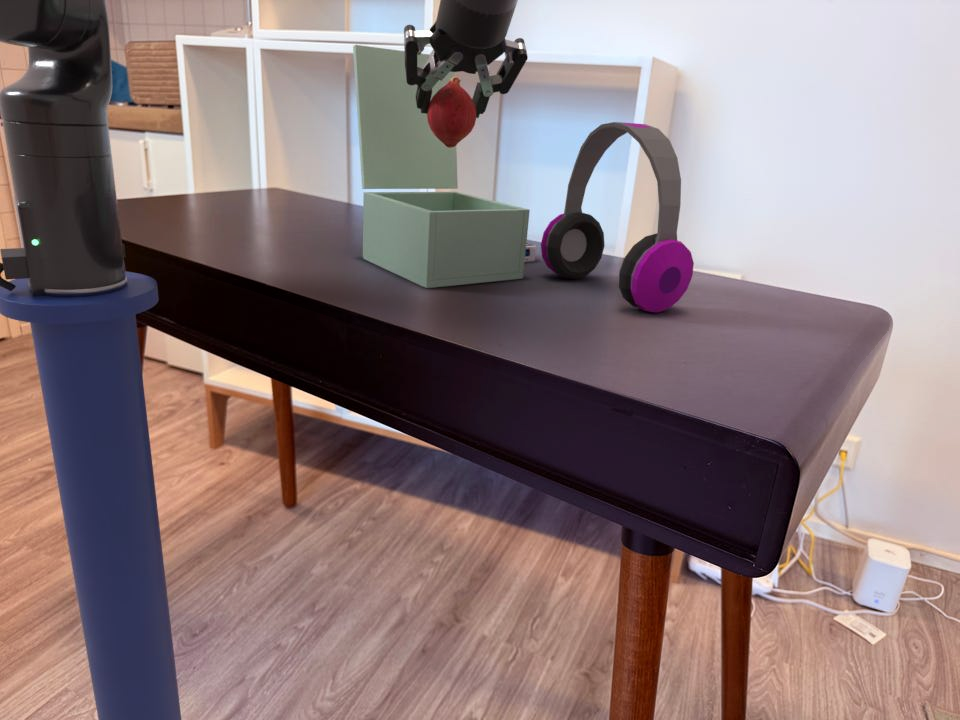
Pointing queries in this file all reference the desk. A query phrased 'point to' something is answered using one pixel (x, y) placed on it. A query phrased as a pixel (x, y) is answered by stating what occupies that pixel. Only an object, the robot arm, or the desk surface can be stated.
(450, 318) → the desk surface
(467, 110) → the red fruit
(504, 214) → the box body
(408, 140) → the lid
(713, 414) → the desk surface
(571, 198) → the headphones
